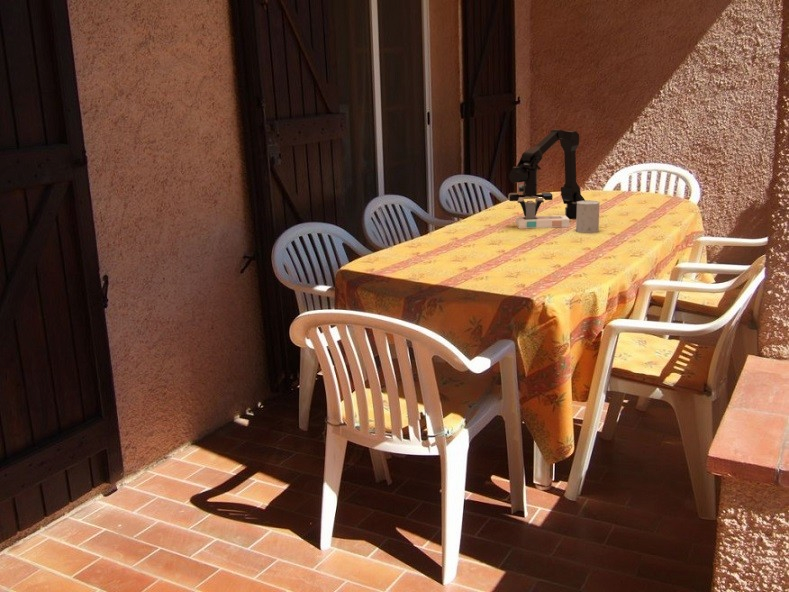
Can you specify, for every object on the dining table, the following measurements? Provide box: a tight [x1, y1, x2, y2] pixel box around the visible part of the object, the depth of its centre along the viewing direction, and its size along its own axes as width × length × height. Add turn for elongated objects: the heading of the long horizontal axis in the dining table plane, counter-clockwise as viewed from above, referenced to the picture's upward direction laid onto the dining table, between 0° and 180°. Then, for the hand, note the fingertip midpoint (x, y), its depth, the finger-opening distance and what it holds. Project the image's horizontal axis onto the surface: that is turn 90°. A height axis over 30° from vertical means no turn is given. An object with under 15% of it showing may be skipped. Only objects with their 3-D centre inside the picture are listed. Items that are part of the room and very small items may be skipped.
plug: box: [525, 200, 535, 220], centre depth 387 cm, size 4×4×10 cm
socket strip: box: [515, 214, 571, 230], centre depth 388 cm, size 22×10×4 cm, turn 90°
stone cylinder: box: [575, 199, 600, 234], centre depth 373 cm, size 10×10×12 cm
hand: (530, 216), depth 387 cm, fingers closed on plug, 4 cm apart
